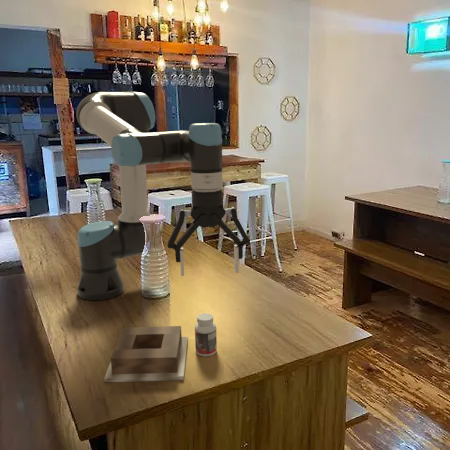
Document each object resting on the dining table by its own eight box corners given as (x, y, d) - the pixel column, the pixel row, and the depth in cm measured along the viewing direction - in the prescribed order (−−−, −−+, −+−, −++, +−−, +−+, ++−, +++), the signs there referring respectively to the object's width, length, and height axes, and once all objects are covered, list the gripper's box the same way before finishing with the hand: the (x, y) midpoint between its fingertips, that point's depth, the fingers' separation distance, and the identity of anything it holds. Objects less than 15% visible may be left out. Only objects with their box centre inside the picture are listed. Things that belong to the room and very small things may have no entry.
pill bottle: (191, 352, 115) (189, 317, 112) (205, 343, 119) (204, 309, 116) (206, 359, 111) (205, 323, 109) (221, 350, 115) (220, 315, 113)
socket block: (104, 382, 103) (102, 362, 102) (120, 341, 120) (118, 324, 119) (183, 380, 103) (182, 360, 102) (187, 340, 121) (187, 323, 119)
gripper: (153, 194, 103) (159, 280, 109) (261, 189, 106) (261, 274, 111) (155, 188, 111) (160, 270, 116) (255, 184, 113) (256, 264, 119)
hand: (209, 272), depth 114 cm, fingers open, 13 cm apart
